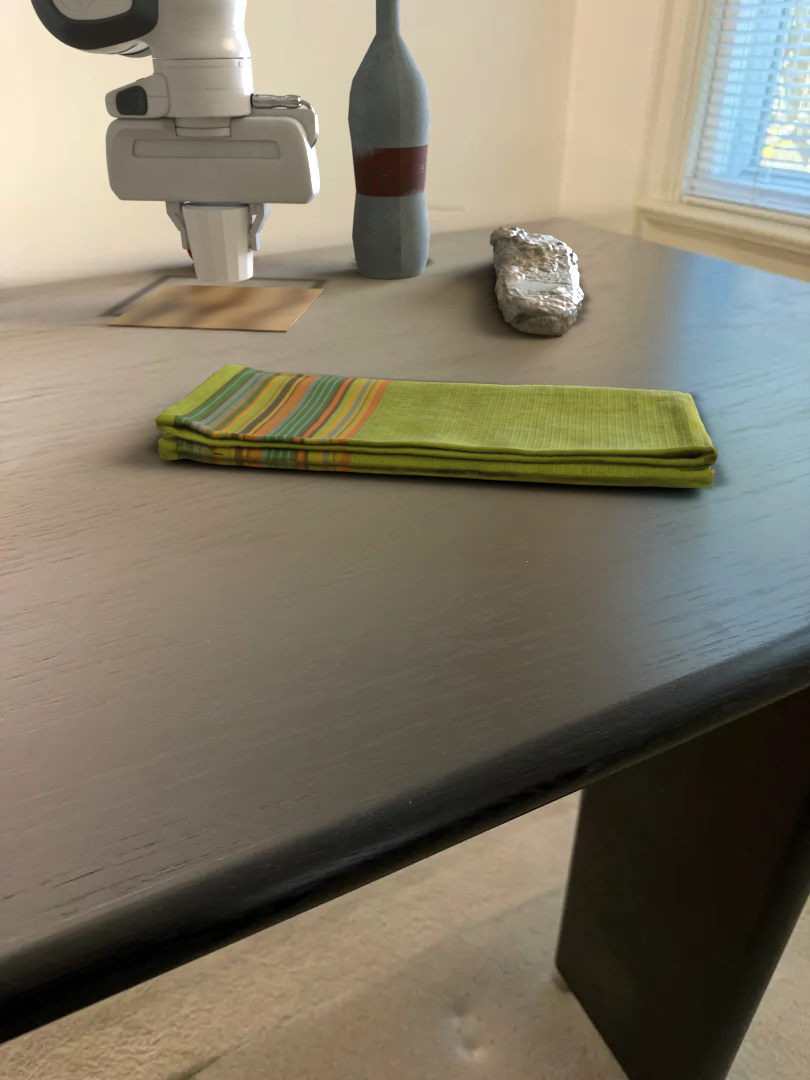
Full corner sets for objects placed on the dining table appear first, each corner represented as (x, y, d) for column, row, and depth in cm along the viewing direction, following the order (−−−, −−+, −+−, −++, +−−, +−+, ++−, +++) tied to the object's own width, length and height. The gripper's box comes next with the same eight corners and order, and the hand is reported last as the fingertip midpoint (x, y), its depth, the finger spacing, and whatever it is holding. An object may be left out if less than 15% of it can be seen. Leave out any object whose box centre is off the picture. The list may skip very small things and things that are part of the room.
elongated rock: (484, 351, 83) (591, 359, 82) (489, 295, 80) (600, 303, 80) (487, 250, 112) (566, 256, 112) (491, 207, 109) (572, 212, 109)
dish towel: (229, 385, 71) (224, 346, 70) (686, 407, 67) (693, 366, 65) (153, 465, 58) (145, 419, 57) (716, 500, 53) (726, 451, 52)
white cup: (211, 288, 85) (202, 211, 82) (178, 275, 90) (169, 202, 87) (272, 277, 89) (266, 203, 86) (237, 265, 94) (231, 195, 90)
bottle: (356, 262, 110) (347, -24, 95) (430, 262, 110) (432, -25, 95) (349, 280, 102) (338, -29, 87) (429, 280, 102) (431, -30, 87)
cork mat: (107, 325, 87) (107, 324, 87) (168, 285, 100) (168, 284, 100) (286, 332, 84) (286, 330, 84) (323, 290, 98) (323, 288, 98)
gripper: (324, 92, 83) (331, 245, 90) (117, 92, 86) (139, 240, 92) (307, 96, 77) (316, 259, 84) (87, 96, 80) (113, 253, 87)
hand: (222, 249), depth 88 cm, fingers closed on white cup, 5 cm apart
